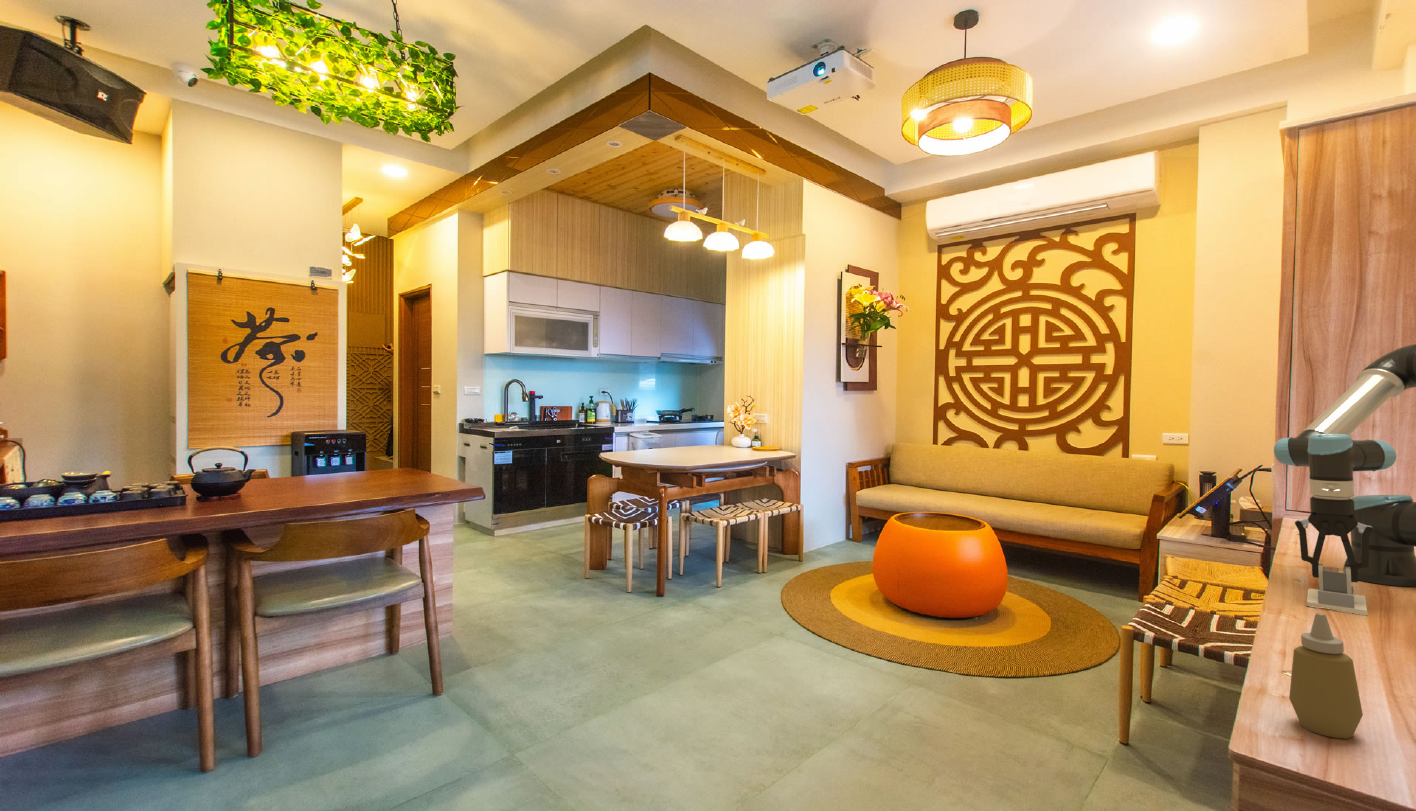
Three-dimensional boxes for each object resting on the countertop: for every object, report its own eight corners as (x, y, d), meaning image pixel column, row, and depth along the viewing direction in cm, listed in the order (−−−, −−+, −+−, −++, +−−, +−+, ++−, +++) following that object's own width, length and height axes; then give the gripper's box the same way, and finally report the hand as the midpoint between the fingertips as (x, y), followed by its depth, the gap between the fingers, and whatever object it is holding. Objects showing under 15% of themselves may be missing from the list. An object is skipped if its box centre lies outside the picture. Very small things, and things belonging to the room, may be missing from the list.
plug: (1324, 590, 151) (1322, 565, 151) (1347, 593, 148) (1346, 568, 149) (1323, 595, 147) (1322, 570, 147) (1347, 598, 144) (1346, 573, 144)
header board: (1308, 592, 158) (1308, 576, 158) (1365, 600, 151) (1364, 583, 151) (1306, 606, 148) (1306, 589, 148) (1367, 615, 141) (1366, 597, 141)
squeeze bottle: (1380, 743, 91) (1374, 622, 91) (1325, 744, 91) (1320, 624, 91) (1326, 715, 99) (1321, 605, 99) (1276, 717, 99) (1271, 607, 99)
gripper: (1282, 496, 152) (1286, 589, 151) (1384, 502, 139) (1388, 604, 139) (1284, 492, 157) (1287, 583, 157) (1383, 498, 145) (1386, 596, 144)
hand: (1335, 592), depth 148 cm, fingers closed on plug, 4 cm apart
